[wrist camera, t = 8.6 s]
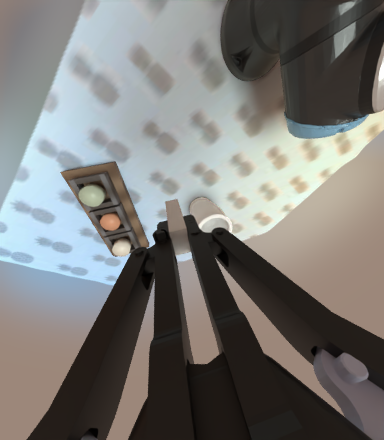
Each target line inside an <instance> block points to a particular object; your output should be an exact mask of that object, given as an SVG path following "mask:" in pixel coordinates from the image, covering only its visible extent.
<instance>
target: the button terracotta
mask: <svg viewBox="0 0 384 440" xmlns="http://www.w3.org/2000/svg"><path fill="white" fill-rule="evenodd" d="M120 223H121V219H120V217H119V215H118V213H117V212H110V213H105V214H104V215H103V217H102V218H101V220H100V224H101V226H102V227H103V228H104V229H106V230H110V231H112V230H116V229H117V228H118V227H119V225H120Z"/></svg>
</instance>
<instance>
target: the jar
mask: <svg viewBox="0 0 384 440" xmlns="http://www.w3.org/2000/svg"><path fill="white" fill-rule="evenodd" d="M190 213H191V215H193V216H194V217H195V220H196V222H197V224H198V226H199V228H200V229H201V230H202V231H203V232H212V230H213V229H214V228H217V227H221V228H225V229H226V230H228V231H229V232H230V233H231V232H232V223H231V221H230V219H229V218H228V217H227V216H226V215H225V214H224V212H223V211H222V210H221V209H220V208H219V207H218V206H217V205H215V204H214V203H212V202H210V200H208V199H207V198H203V197H201V198H197V199H195V200H194V201H193V202H192V203H191V205H190Z"/></svg>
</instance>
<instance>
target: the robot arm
mask: <svg viewBox="0 0 384 440" xmlns="http://www.w3.org/2000/svg"><path fill="white" fill-rule="evenodd" d="M221 46H222V52H223V56H224V60H225V62H226V65H227V67H228V68H229V70H230V71H231V73H232V74H233V75H234V76H235V77H237V78H238V79H240V80H243V81H252V80H255V79H257V78H259V77H261V76H263V75H264V74H266V73H267V72H268V71H269V70H270V69H271V68H272V67H273V66H274V65H275V64H276V63H277V61H278V60H279V58H280V67H281V77H282V86H283V96H284V105H285V112H284V116H285V118H286V120H287V127H288V131H289V132H290V133H291V134H292V135H293V136H295V137H298V138H303V139H315V138H323V137H328V136H333V135H335V134H336V133H339V132H346V131H348V130H351V129H353V128H355V127H356V126H358V125H360V124H361V123H362V122H363V121H364V120H365V119H366V118H367V116H368V115H369V114H373V113H377V112H380V111H383V110H384V0H228V3H227V5H226V8H225V11H224V15H223V20H222V26H221ZM165 203H166V212H167V221H163V222H159V224H158V225H157V230H156V231H155V232H154V233H153V238H154V240H155V245H153V246H152V247H150V248H148V249H147V248H146V247H139V248H136V249H135V250H134V251H133V252H132V253H131V255H130V257H129V258H128V260H127V262H126V264H125V266H124V268H123V270H122V272H121V274H120V275H119V277H118V279H117V281H116V283H115V285H114V287H113V289H112V291H111V293H110V294H109V297H108V298H107V300H106V302H105V304H104V306H103V308H102V310H101V312H100V313H99V315H98V317H97V319H96V321H95V323H94V325H93V327H92V329H91V330H90V332H89V334H88V336H87V338H86V340H85V342H84V344H83V345H82V347H81V349H80V351H79V353H78V355H77V357H76V359H75V361H74V363H73V364H72V366H71V368H70V370H69V372H68V374H67V376H66V378H65V379H64V381H63V383H62V385H61V387H60V389H59V391H58V393H57V395H56V397H55V398H54V400H53V402H52V404H51V406H50V408H49V410H48V411H47V412H46V414H45V415H44V417H43V418H42V420H41V421H40V422H39V424H38V425H37V427H36V428H35V429H34V431H33V432H32V433H31V435H30V436H29V437H28V439H27V440H106V438H107V436H108V433H109V431H110V428H111V425H112V423H113V420H114V418H115V415H116V412H117V408H118V405H119V402H120V399H121V396H122V392H123V389H124V385H125V381H126V378H127V374H128V371H129V367H130V364H131V360H132V357H133V353H134V350H135V346H136V342H137V339H138V335H139V332H140V328H141V325H142V321H143V318H144V314H145V310H146V307H147V303H148V300H149V296H150V293H151V289H152V285H153V282H154V279H155V300H154V338H153V340H152V341H151V344H150V352H149V379H148V381H149V382H148V397H147V399H146V401H145V403H144V405H143V407H142V409H141V411H140V413H139V415H138V418H137V420H136V422H135V425H134V427H133V429H132V432H131V434H130V436H129V438H128V440H384V339H382V338H380V337H378V336H376V335H374V334H372V333H370V332H368V331H367V330H365V329H363V328H361V327H359V326H357V325H355V324H353V323H351V322H349V321H348V320H346V319H344V318H342V317H340V316H338V315H336V314H334V313H333V312H331V311H330V310H329V309H327V308H326V307H325V306H324V305H322V304H321V303H320V302H318V301H317V300H316V299H315V298H313V297H312V296H311V295H309V294H308V293H307V292H306V291H304V290H303V289H302V288H300V287H299V286H298V285H296V284H295V283H294V282H293V281H291V280H290V279H289V278H288V277H286V276H285V275H284V274H282V273H281V272H280V271H279V270H277V269H276V268H275V267H273V266H272V265H271V264H270V263H268V262H267V261H266V260H265V259H263V258H262V257H261V256H259V255H258V254H257V253H256V252H254V251H253V250H252V249H251V248H249V247H248V246H247V245H245V244H244V243H243V242H242V241H240V240H239V239H238V238H236V237H235V236H234V235H233V234H231V233H230V232H229V231H228V230H226V229H225V228H221V227H217V228H214V229H213V230H212V232H203V231H202V230H201V229H200V228H199V226H198V224H197V222H196V220H195V217H194V216H193V215H187V216H183V215H182V212H181V209H180V206H179V203H178V200H177V199H175V200H170V201H166V202H165ZM188 252H191V253H192V258H193V261H194V264H195V268H196V271H197V274H198V278H199V281H200V285H201V288H202V292H203V296H204V299H205V303H206V306H207V309H208V312H209V316H210V320H211V323H212V327H213V330H214V334H215V337H216V341H217V345H218V349H219V353H220V354H219V355H218V356H217V357H216V358H214V359H213V360H212V361H211V362H209V363H208V364H194V361H193V356H192V352H191V347H190V340H189V334H188V328H187V322H186V315H185V309H184V303H183V297H182V290H181V284H180V277H179V271H178V265H177V259H176V256H175V255H180V254H184V253H188ZM215 258H216V259H217V260H218V261H219V262H220V264H221V265H222V266H223V267H224V268H225V269H226V271H228V273H229V274H230V275H231V276H232V277H233V279H234V280H235V281H236V282H237V283H238V284H239V285H240V287H241V288H242V289H243V290H244V291H245V292H246V293H247V295H248V296H249V297H250V298H251V299H252V300H253V302H254V303H255V304H256V305H257V306H258V307H259V309H260V310H261V311H262V312H263V313H264V314H265V315H266V317H267V318H268V319H269V320H270V321H271V322H272V323H273V325H274V326H275V327H276V328H277V329H278V330H279V331H280V333H281V334H282V335H283V336H284V337H285V338H286V340H287V341H288V342H289V343H290V344H291V345H292V346H293V347H294V348H295V349H296V350H297V351H298V352H299V353H300V354H301V355H302V356H303V357H304V358H305V359H306V360H307V361H309V362H310V363H311V364H312V365H313V366H314V371H315V374H316V376H317V379H318V381H319V382H320V384H321V385H322V387H323V388H324V389H325V390H326V391H327V392H328V393H329V394H330V395H331V396H332V397H333V399H334V400H335V401H336V402H337V404H338V405H339V407H340V408H341V410H342V412H343V413H344V416H345V417H344V416H343V415H341V414H340V413H339V412H338V411H336V410H335V409H334V408H333V407H332V406H330V405H329V404H328V403H327V402H325V401H324V400H323V399H322V398H321V397H319V396H318V395H317V394H316V393H314V392H313V391H312V390H311V389H309V388H308V387H307V386H306V385H304V384H303V383H302V382H301V381H300V380H298V379H297V378H296V377H294V376H293V375H292V374H291V373H290V372H288V371H287V370H286V369H285V368H283V367H282V366H281V365H280V364H279V363H277V362H276V361H275V360H273V359H272V358H271V357H269V356H267V355H266V354H264V353H263V351H262V349H261V347H260V344H259V343H258V340H257V338H256V336H255V334H254V332H253V330H252V328H251V326H250V324H249V322H248V320H247V318H246V316H245V315H244V313H243V312H241V311H240V310H239V308H238V306H237V304H236V302H235V300H234V298H233V295H232V293H231V291H230V289H229V287H228V285H227V283H226V281H225V279H224V276H223V274H222V272H221V270H220V268H219V266H218V263H217V261H216V259H215Z"/></svg>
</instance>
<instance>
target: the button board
mask: <svg viewBox="0 0 384 440" xmlns="http://www.w3.org/2000/svg"><path fill="white" fill-rule="evenodd" d="M60 173H61V174H62V176H63V177H64V179H65V180H66V182H67V184H68V185H69V187H70V188H71V190H72V192H73V193H74V195H75V196H76V198H77V199H78V201H79V203H80V204H81V206H82V207H83V209H84V211H85V212H86V214H87V215H88V217H89V218H90V220H91V222H92V223H93V225H94V226H95V228H96V230H97V231H98V233H99V234H100V236H101V238H102V239H103V241H104V242H105V244H106V245H107V247H108V249H109V250H110V252H111V253H112V255H113V256H115V257H117V255H115V254H114V253H113V252H112V248H113V246H114V243H115V241H116V240H118V239H120V238H125V239H128V240H129V241H130V242H131V248H130V252H129V253H132V252H133V251H134V250H135V249H136V248H139V247H146V248H147V247H149V242H148V240H147V237H146V235H145V233H144V230H143V228H142V225H141V223H140V220H139V218H138V215H137V213H136V211H135V208H134V206H133V203H132V201H131V198H130V196H129V193H128V191H127V189H126V186H125V184H124V181H123V179H122V176H121V174H120V171H119V169H118V167H117V164H116V162H111V163H105V164H100V165H94V166H89V167H83V168H78V169H72V170H67V171H63V172H60ZM88 184H97V185H99V186H101V187H102V188H103V189H104V190H105V192H106V198H105V199H104V201H103V202H102V203H101V204H100V205H99V206H96V207H91V206H87V205H85V204H84V203H82V202H81V200H80V199H79V191H80V190H81V189H82V188H84V187H85V186H87V185H88ZM110 212H117V213H118V215H119V217H120V219H121V223H120V225H119V227H118V228H117V229H116V230H112V231H110V230H106V229H104V228H103V227H102V226H101V224H100V220H101V218H102V217H103V215H104V214H105V213H110Z"/></svg>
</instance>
